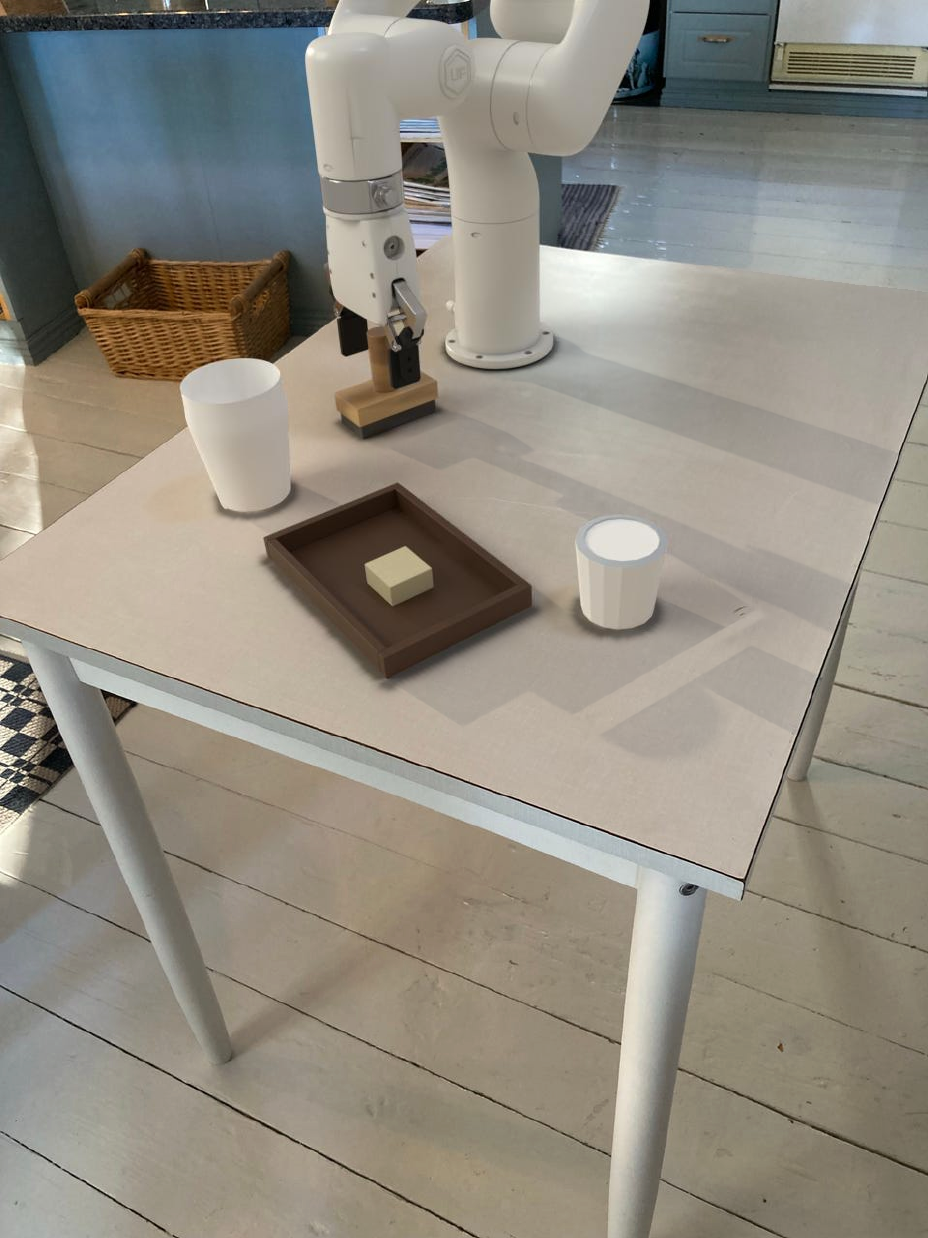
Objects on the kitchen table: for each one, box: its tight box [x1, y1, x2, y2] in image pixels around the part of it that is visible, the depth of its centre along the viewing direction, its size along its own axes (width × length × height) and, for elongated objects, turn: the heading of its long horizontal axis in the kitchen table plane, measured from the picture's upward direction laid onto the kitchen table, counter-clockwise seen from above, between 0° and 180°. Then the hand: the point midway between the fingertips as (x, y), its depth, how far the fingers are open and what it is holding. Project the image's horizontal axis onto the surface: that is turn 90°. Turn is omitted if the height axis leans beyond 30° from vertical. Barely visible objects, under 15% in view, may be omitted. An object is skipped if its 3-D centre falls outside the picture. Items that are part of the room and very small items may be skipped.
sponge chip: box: [365, 546, 434, 606], centre depth 81 cm, size 4×4×2 cm
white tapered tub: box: [574, 513, 669, 630], centre depth 76 cm, size 7×7×7 cm
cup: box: [179, 357, 291, 513], centre depth 90 cm, size 9×9×12 cm
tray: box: [262, 482, 533, 680], centre depth 82 cm, size 20×14×3 cm
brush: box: [333, 325, 439, 440], centre depth 102 cm, size 5×10×10 cm, turn 125°
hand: (380, 367), depth 101 cm, fingers open, 9 cm apart
